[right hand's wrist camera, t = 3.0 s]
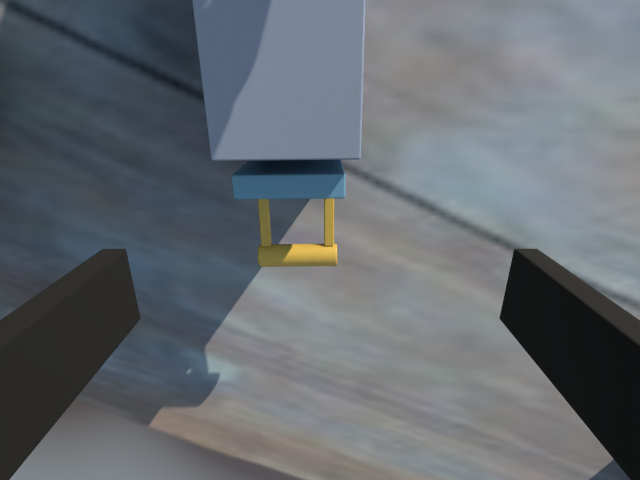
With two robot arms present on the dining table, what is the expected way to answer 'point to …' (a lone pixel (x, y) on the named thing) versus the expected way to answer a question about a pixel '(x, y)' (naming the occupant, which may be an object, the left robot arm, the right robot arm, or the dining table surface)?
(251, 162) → the drawer
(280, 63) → the cabinet
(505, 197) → the dining table surface
